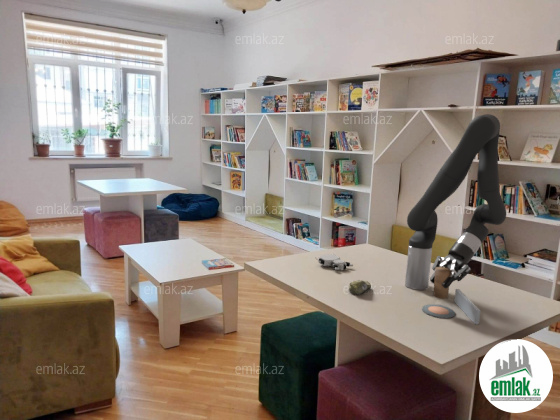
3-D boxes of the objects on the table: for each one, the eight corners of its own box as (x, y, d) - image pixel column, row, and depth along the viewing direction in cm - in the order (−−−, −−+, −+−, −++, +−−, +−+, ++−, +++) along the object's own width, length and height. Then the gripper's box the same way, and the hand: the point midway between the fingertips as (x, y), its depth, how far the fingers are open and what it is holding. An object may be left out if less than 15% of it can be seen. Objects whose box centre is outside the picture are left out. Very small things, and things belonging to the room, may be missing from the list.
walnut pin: (431, 293, 154) (433, 266, 152) (445, 294, 153) (447, 267, 152) (435, 298, 149) (437, 270, 147) (450, 299, 148) (452, 271, 147)
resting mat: (418, 304, 158) (418, 303, 158) (448, 306, 157) (448, 304, 157) (427, 317, 147) (427, 315, 147) (459, 319, 147) (459, 317, 146)
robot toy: (354, 271, 198) (331, 260, 210) (355, 261, 197) (332, 251, 209) (335, 275, 191) (313, 264, 202) (336, 266, 190) (314, 255, 201)
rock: (367, 289, 176) (344, 285, 175) (371, 275, 175) (347, 270, 174) (374, 299, 165) (349, 295, 165) (378, 284, 164) (353, 280, 163)
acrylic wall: (454, 301, 163) (455, 288, 162) (457, 301, 163) (458, 289, 162) (475, 324, 143) (476, 310, 142) (478, 324, 143) (480, 310, 142)
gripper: (444, 237, 157) (417, 272, 154) (477, 246, 145) (449, 284, 141) (453, 249, 161) (427, 284, 157) (486, 259, 148) (459, 297, 145)
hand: (437, 284), depth 149 cm, fingers closed on walnut pin, 5 cm apart
